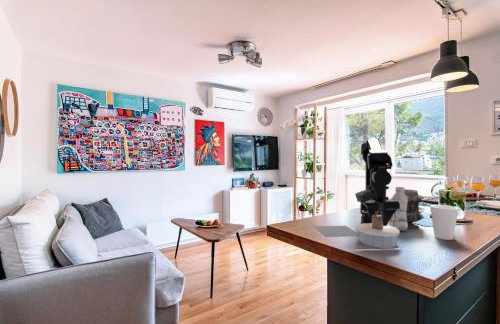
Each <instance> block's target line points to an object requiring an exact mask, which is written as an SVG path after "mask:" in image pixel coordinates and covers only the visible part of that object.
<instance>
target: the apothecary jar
mask: <svg viewBox="0 0 500 324" xmlns="http://www.w3.org/2000/svg"><path fill="white" fill-rule="evenodd" d="M404 194H405V195H406V196H407V198H408V203H407V211H406V216H407V223H408V228H407V230H418V229H420V226H419V225H418V224H415V222H419V221H420V220H422V219H423V214H422V213H421V211H420V207H419V204H420V202H422V200H423V197H422V196H421V195H419V192H418V190H416V189H409V188H408V189H405V192H404Z"/></svg>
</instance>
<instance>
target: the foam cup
mask: <svg viewBox="0 0 500 324" xmlns="http://www.w3.org/2000/svg"><path fill="white" fill-rule="evenodd" d="M429 212H430V213H431V219H432V220H431V221H432V229H433V235H434V237H435V238H437V239H440V240H446V241H448V240H449V241H452V240H454V236H455V232H456V231H455V230H456V226H457V219H458V215H459V207H457V206H454V205H453V206H452V205H446V204H430V211H429Z"/></svg>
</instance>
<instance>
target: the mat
mask: <svg viewBox="0 0 500 324" xmlns="http://www.w3.org/2000/svg"><path fill="white" fill-rule="evenodd" d="M313 227H314V228H315V229H316V230H317V231H319V232H320V234H321V235H323V236H324V237H325V238H330V237H331V238H332V237H334V238H335V237H338V238H339V237H360V232H359V233H358V232H357V231H356V230H354V229H352V228H351V227H349V226H347V225H323V226H322V225H319V226H318V225H315V226H313Z"/></svg>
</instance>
